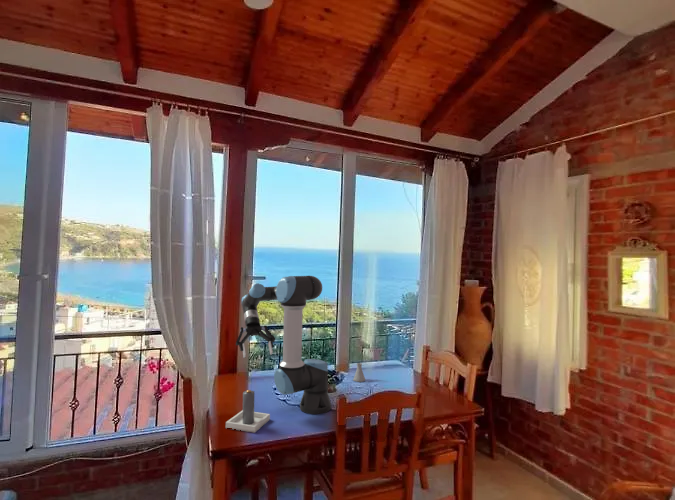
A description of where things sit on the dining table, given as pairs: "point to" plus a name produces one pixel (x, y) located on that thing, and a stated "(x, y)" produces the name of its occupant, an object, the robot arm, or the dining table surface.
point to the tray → (238, 424)
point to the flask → (359, 374)
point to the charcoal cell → (248, 407)
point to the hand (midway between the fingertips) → (258, 354)
